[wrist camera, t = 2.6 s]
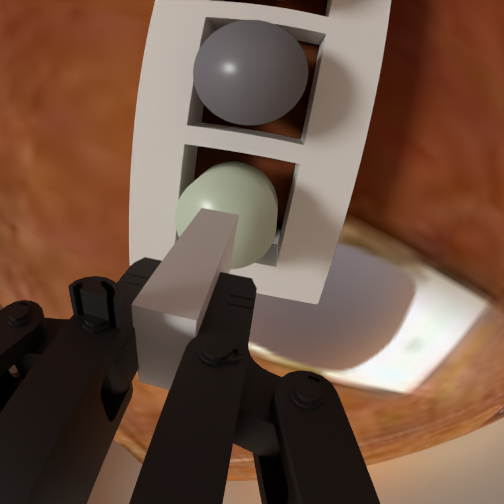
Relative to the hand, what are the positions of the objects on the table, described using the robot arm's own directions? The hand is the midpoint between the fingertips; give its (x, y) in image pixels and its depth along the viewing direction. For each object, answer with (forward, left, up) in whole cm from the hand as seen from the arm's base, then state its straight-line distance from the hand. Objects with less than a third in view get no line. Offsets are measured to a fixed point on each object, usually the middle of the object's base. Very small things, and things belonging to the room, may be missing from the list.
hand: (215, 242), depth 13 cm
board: (-7, 0, -7) cm, 10 cm away
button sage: (0, 0, -5) cm, 5 cm away
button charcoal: (-7, 0, -5) cm, 9 cm away
